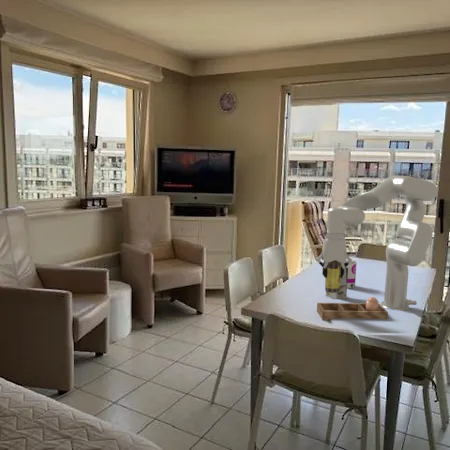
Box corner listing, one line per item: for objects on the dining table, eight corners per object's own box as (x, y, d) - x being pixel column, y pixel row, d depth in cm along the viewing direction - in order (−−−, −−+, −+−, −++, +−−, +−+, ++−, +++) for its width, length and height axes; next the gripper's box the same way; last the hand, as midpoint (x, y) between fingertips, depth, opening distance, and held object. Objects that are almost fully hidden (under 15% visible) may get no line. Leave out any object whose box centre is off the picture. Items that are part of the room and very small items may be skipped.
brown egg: (375, 312, 194) (376, 295, 193) (379, 316, 189) (380, 299, 188) (364, 312, 194) (365, 295, 193) (367, 316, 189) (368, 298, 188)
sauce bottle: (341, 293, 187) (344, 248, 184) (327, 293, 186) (329, 248, 183) (336, 289, 193) (339, 245, 190) (322, 289, 193) (325, 245, 190)
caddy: (378, 312, 197) (378, 303, 196) (387, 321, 186) (387, 312, 186) (316, 311, 197) (317, 302, 196) (322, 320, 186) (322, 311, 185)
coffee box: (347, 299, 214) (349, 267, 212) (336, 300, 212) (338, 269, 209) (335, 293, 223) (337, 263, 220) (325, 295, 220) (326, 264, 218)
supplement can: (357, 286, 236) (359, 259, 234) (350, 289, 230) (352, 262, 228) (344, 283, 242) (345, 257, 240) (336, 286, 236) (338, 259, 234)
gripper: (352, 235, 190) (350, 275, 193) (313, 234, 190) (311, 274, 192) (358, 238, 182) (355, 279, 185) (317, 237, 182) (314, 278, 185)
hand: (332, 276), depth 189 cm, fingers closed on sauce bottle, 6 cm apart
